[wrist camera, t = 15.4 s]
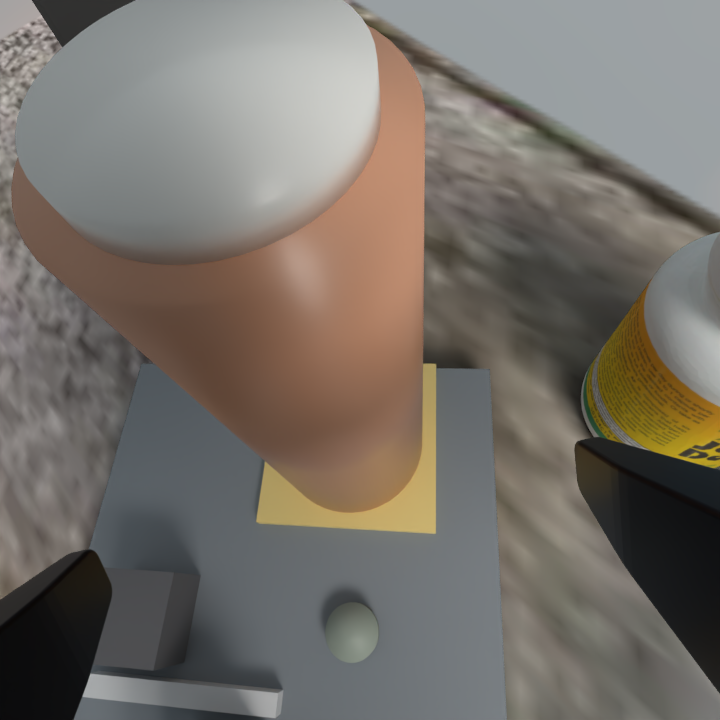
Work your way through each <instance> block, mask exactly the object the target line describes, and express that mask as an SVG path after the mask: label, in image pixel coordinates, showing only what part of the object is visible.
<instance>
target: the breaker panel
mask: <svg viewBox="0 0 720 720" xmlns="http://www.w3.org/2000/svg"><path fill="white" fill-rule="evenodd" d="M89 549H91V550H94V551H95V552H96V553H97V554H98V556H99V558H100V560H101V562H102V564H103V566H104V569H105V571H106V573H107V575H108V577H109V579H110V582H111V585H112V599H111V603H110V606H109V610H108V614H107V617H106V621H105V624H104V628H103V631H102V635H101V638H100V642H99V645H98V649H97V653H96V656H95V660H94V663H93V667H92V670H91V673H90V676H89V680H88V683H87V686H86V688H85V691H84V694H83V697H82V699H81V702H80V705H79V707H78V710H77V712H76V715H75V718H74V720H507V714H506V693H505V673H504V652H503V632H502V612H501V591H500V571H499V550H498V530H497V509H496V489H495V468H494V448H493V427H492V407H491V386H490V369H453V368H436V364H423V416H422V451H421V457H420V461H419V464H418V466H417V469H416V471H415V473H414V475H413V477H412V478H411V480H410V482H409V483H408V484H407V485H406V487H405V488H404V489H403V490H402V491H401V492H400V493H399V494H398V495H397V496H395V497H394V498H393V499H391V500H390V501H389V502H387V503H385V504H383V505H381V506H379V507H377V508H374V509H371V510H367V511H363V512H355V513H342V512H336V511H332V510H329V509H325V508H323V507H321V506H319V505H317V504H315V503H313V502H312V501H310V500H309V499H307V498H306V497H305V496H304V495H303V494H302V493H301V492H299V491H298V490H297V489H296V488H295V487H294V486H293V485H292V484H290V483H289V482H288V481H287V480H286V479H285V478H284V477H282V476H281V475H280V474H279V473H278V472H277V471H276V470H274V469H273V468H272V467H271V466H270V465H269V464H268V463H267V462H265V461H264V460H263V459H262V458H261V457H260V456H259V455H257V454H256V453H255V452H254V451H253V450H252V449H251V448H249V447H248V446H247V445H246V444H245V443H244V442H243V441H242V440H240V439H239V438H238V437H237V436H236V435H235V434H234V433H232V432H231V431H230V430H229V429H228V428H227V427H226V426H225V425H223V424H222V423H221V422H220V421H219V420H218V419H217V418H215V417H214V416H213V415H212V414H211V413H210V412H209V411H207V410H206V409H205V408H204V407H203V406H202V405H201V404H200V403H198V402H197V401H196V400H195V399H194V398H193V397H192V396H190V395H189V394H188V393H187V392H186V391H185V390H184V389H182V388H181V387H180V386H179V385H178V384H177V383H176V382H175V381H173V380H172V379H171V378H170V377H169V376H168V375H167V374H165V373H164V372H163V371H162V370H161V369H160V368H159V367H158V366H156V365H155V364H141V367H140V371H139V374H138V378H137V381H136V385H135V389H134V392H133V396H132V399H131V403H130V406H129V410H128V413H127V417H126V420H125V424H124V427H123V431H122V434H121V438H120V441H119V445H118V448H117V452H116V455H115V459H114V462H113V466H112V469H111V473H110V477H109V480H108V484H107V487H106V491H105V494H104V498H103V501H102V505H101V508H100V512H99V515H98V519H97V522H96V526H95V529H94V533H93V536H92V540H91V543H90V547H89Z"/></svg>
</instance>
